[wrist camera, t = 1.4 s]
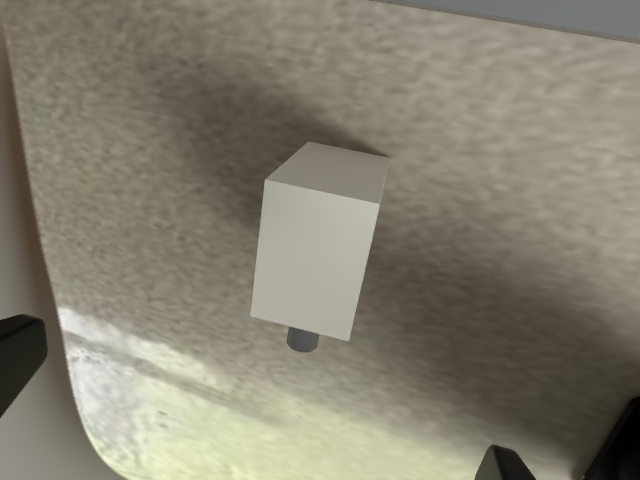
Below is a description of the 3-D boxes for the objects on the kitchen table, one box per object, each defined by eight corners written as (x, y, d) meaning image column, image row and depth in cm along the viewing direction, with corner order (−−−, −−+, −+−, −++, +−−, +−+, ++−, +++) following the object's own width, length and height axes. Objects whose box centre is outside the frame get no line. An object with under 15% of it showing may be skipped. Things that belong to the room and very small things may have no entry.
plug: (359, 294, 21) (340, 379, 16) (289, 277, 22) (246, 354, 16) (390, 157, 18) (379, 204, 13) (308, 141, 19) (264, 179, 13)
